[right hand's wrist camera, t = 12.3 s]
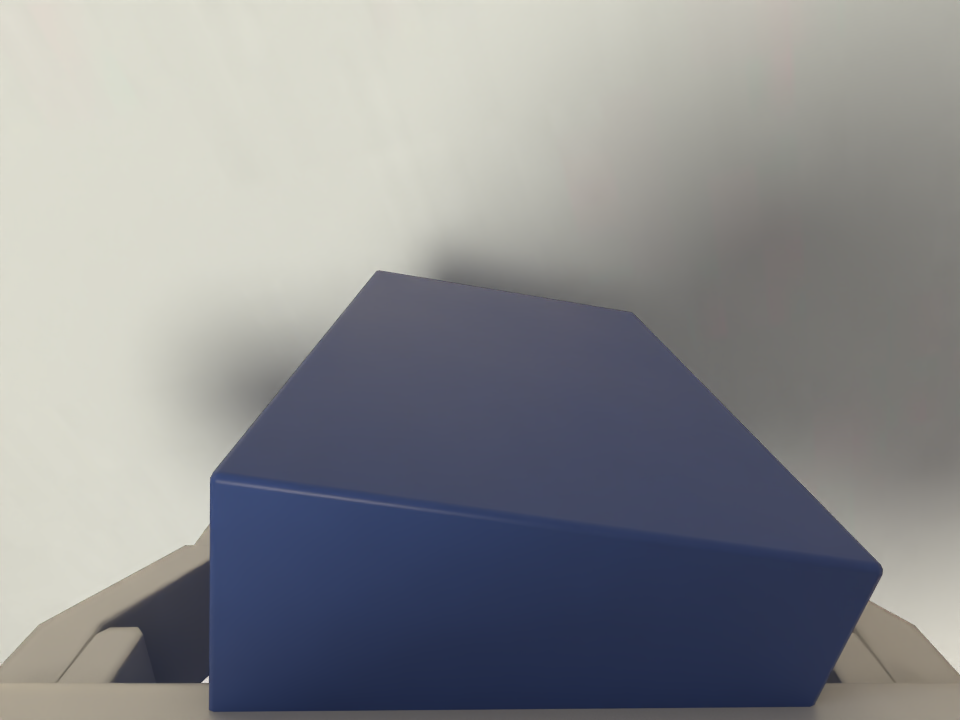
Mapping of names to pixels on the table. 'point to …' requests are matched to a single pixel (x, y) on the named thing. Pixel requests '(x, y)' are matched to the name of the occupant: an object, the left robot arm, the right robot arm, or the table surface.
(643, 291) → the table surface
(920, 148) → the table surface
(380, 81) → the table surface
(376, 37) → the table surface
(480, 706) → the bar
